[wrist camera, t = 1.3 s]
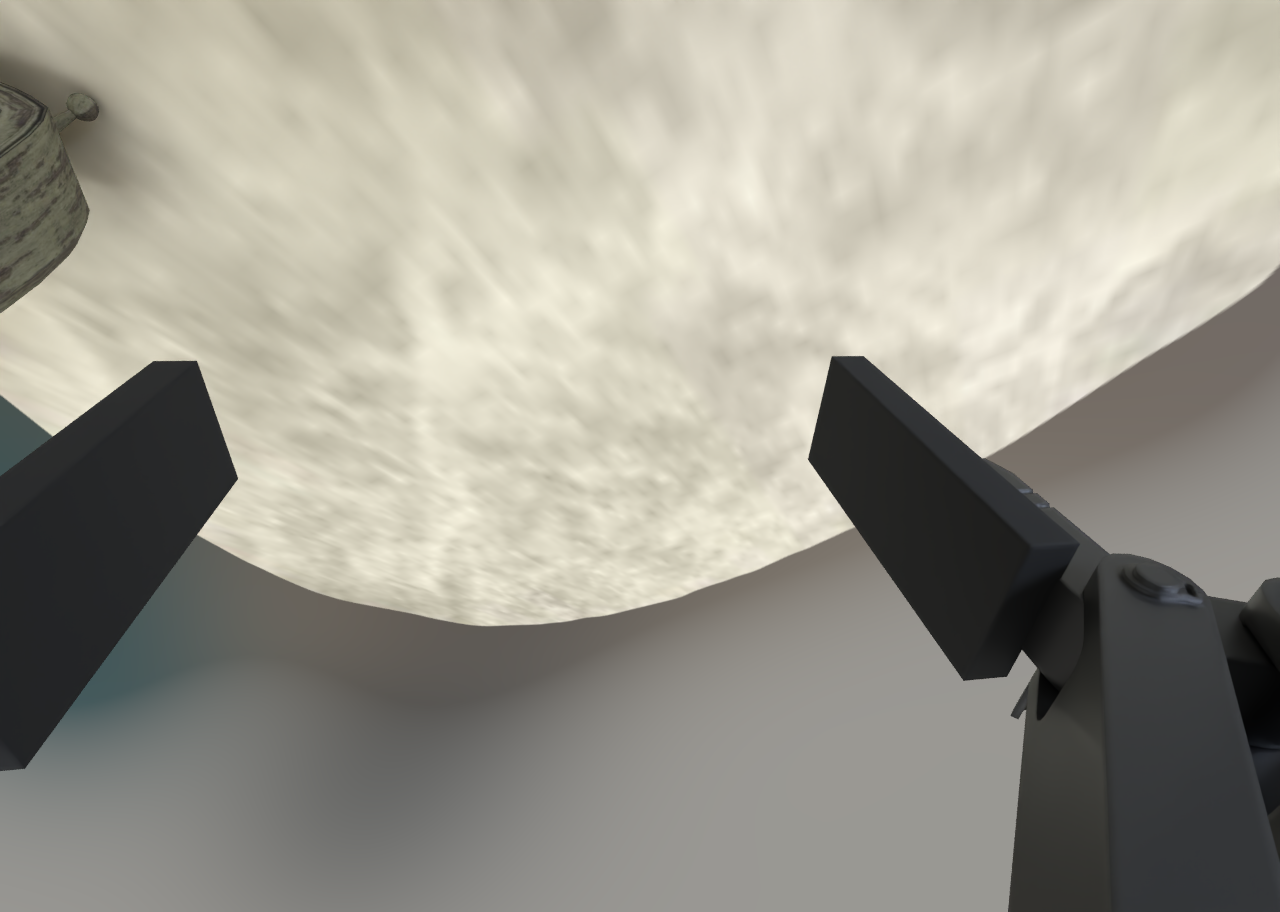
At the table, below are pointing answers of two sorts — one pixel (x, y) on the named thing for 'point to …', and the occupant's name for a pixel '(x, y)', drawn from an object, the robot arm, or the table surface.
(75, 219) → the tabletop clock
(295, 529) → the table surface
